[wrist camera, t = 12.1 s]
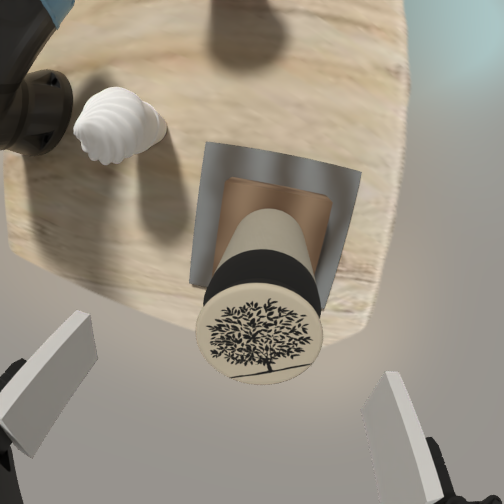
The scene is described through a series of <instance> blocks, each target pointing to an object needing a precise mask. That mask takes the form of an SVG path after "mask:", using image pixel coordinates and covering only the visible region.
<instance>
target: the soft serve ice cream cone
mask: <svg viewBox="0 0 504 504" xmlns="http://www.w3.org/2000/svg"><path fill="white" fill-rule="evenodd" d="M73 130H74V135H76V138H77V139H79V140H80V141H81V147H82V150H83V151H84V152H86V153H88V155H89V158H90V159H91V160H92V161H97V160H99V161H100V162H101V163H102V164H103V165H108V164H110V163H111V162H113V163H115V164H119V163H121V162H122V161H123V159H124V158H128V157H131V156H132V155H133V154H138V153H142V152H144V151H146V150H147V149H148V148H150V147H151V146H152V145H154V144H156V143H158V142H160V141H161V140H162V139H163V138H164V136H165V134H166V131H167V124H166V121H165V119H164V118H163V117H162V116H161V115H160V114H159V113H158V112H157V111H156V110H155V108H154V107H153V106H152V105H150V104H149V103H147V102H144V101H142V100H141V99H140V97H138V96H137V95H136V94H135V93H133V92H131V91H129V90H127V89H125V88H121V87H109V88H107V89H105V90H103V91H101V92H99V93H97V94H95V95H94V96H92V97H91V98H90V99H89V100H88V101H87V102H86V104H85V106H84V108H83V111H82V112H81V114H80V116H79V118H78V119H77V121H76V123H75V125H74V128H73Z"/></svg>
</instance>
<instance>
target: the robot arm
mask: <svg viewBox="0 0 504 504" xmlns="http://www.w3.org/2000/svg"><path fill="white" fill-rule="evenodd" d="M74 3H75V0H0V150H6V149H7V150H10V151H13V152H16V153H20V154H23V155H26V156H36V155H42V154H45V153H47V152H49V151H50V150H51V149H53V148H54V147H55V146H56V145H57V143H58V142H59V141H60V139H61V138H62V136H63V134H64V132H65V130H66V128H67V125H68V122H69V119H70V115H71V110H72V90H71V86H70V83H69V81H68V79H67V78H66V76H65V75H63V74H62V73H61V72H58V71H54V70H48V69H46V70H39V71H36V72H32V73H28V74H27V72H28V71H29V69H30V67H31V66H32V64H33V62H34V61H35V59H36V58H37V56H38V55H39V53H40V52H41V50H42V49H43V47H44V46H45V44H46V43H47V42H48V40H49V39H50V37H51V36H52V35H53V33H54V32H55V31H56V30H58V28H59V27H60V23H61V22H62V21H63V19H64V18H65V17H66V15H67V14H68V13H69V11H70V10H71V9H72V7H73V6H74ZM97 360H98V357H97V351H96V346H95V341H94V335H93V331H92V323H91V317H90V314H88V313H85V312H82V311H80V310H76V311H75V312H74V313H73V314H72V315H71V316H70V317H69V318H68V319H67V320H66V321H65V322H64V323H63V324H62V325H61V326H60V327H59V328H58V329H57V330H56V331H55V332H54V333H53V334H52V335H51V336H50V337H49V338H48V339H47V340H46V341H45V342H44V344H43V345H42V346H41V347H40V348H39V349H38V350H37V351H36V352H35V353H34V354H33V355H32V357H31V358H30V359H29V360H28V361H26V360H24V359H23V358H21V359H20V360H18V361H16V362H14V363H12V364H11V366H10V367H9V368H8V369H7V370H6V371H5V373H4V374H3V375H2V376H1V377H0V504H23V500H22V497H21V493H20V489H19V485H18V480H17V476H16V471H15V466H14V460H13V454H12V450H11V447H10V445H11V443H12V442H13V443H14V445H15V446H16V447H17V448H18V449H19V450H20V451H21V452H23V453H24V454H26V455H27V456H29V457H30V458H33V457H34V455H35V453H36V452H37V450H38V448H39V447H40V445H41V443H42V442H43V440H44V438H45V437H46V435H47V434H48V432H49V431H50V429H51V427H52V426H53V424H54V423H55V421H56V420H57V418H58V417H59V415H60V413H61V412H62V410H63V409H64V407H65V406H66V404H67V403H68V401H69V400H70V398H71V397H72V395H73V394H74V392H75V391H76V389H77V388H78V387H79V385H80V384H81V382H82V381H83V379H84V378H85V377H86V375H87V374H88V372H89V370H90V369H91V368H92V366H93V365H94V364H95V362H96V361H97ZM361 413H362V417H363V422H364V426H365V430H366V435H367V439H368V444H369V448H370V453H371V458H372V463H373V468H374V474H375V479H376V484H377V490H378V495H379V502H380V504H502V501H501V499H500V498H499V497H498V496H496V495H490V496H488V497H487V498H486V499H484V500H483V501H475V502H467V501H466V499H465V498H463V497H462V496H456V494H455V492H454V490H453V486H452V483H451V480H450V477H449V474H448V471H447V468H446V465H444V463H445V462H444V459H443V457H442V454H441V451H440V448H439V445H438V444H437V443H436V442H435V440H434V439H433V438H432V437H427V438H425V436H424V434H423V431H422V428H421V425H420V423H419V420H418V418H417V415H416V412H415V410H414V407H413V405H412V402H411V400H410V397H409V395H408V392H407V390H406V388H405V385H404V383H403V381H402V378H401V376H400V373H399V372H390V371H385V372H384V374H383V375H382V377H381V379H380V380H379V382H378V384H377V385H376V387H375V388H374V390H373V392H372V393H371V395H370V396H369V398H368V400H367V401H366V403H365V404H364V406H363V407H362V409H361Z"/></svg>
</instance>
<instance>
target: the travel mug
mask: <svg viewBox="0 0 504 504" xmlns="http://www.w3.org/2000/svg"><path fill="white" fill-rule="evenodd" d="M320 315H321V302H320V297H319V293H318V289H317V285H316V281H315V277H314V273H313V269H312V265H311V261H310V258H309V254H308V250H307V246H306V243H305V239H304V235H303V232H302V229H301V227H300V226H299V224H298V223H297V221H296V220H295V219H294V218H293V217H291V216H290V215H289V214H287V213H285V212H283V211H280V210H277V209H260V210H257V211H254V212H252V213H250V214H249V215H247V216H246V217H245V218H244V219H243V220H242V221H241V222H240V223H239V225H238V226H237V228H236V230H235V232H234V234H233V236H232V238H231V240H230V242H229V244H228V246H227V248H226V250H225V252H224V254H223V257H222V259H221V261H220V263H219V265H218V267H217V269H216V271H215V273H214V275H213V277H212V279H211V281H210V283H209V285H208V287H207V290H206V292H205V296H204V302H203V308H202V310H201V312H200V314H199V316H198V319H197V322H196V332H195V333H196V340H197V344H198V347H199V349H200V351H201V353H202V355H203V357H204V358H205V359H206V360H207V362H208V363H209V364H210V365H211V366H212V367H213V368H214V369H216V370H217V371H218V372H220V373H221V374H223V375H225V376H227V377H229V378H231V379H233V380H236V381H239V382H243V383H247V384H254V385H270V384H276V383H281V382H284V381H287V380H290V379H292V378H294V377H296V376H298V375H300V374H301V373H302V372H304V371H305V370H306V369H308V368H309V367H310V366H311V365H312V363H313V362H314V361H315V359H316V358H317V356H318V354H319V352H320V350H321V347H322V342H323V329H322V324H321V321H320Z"/></svg>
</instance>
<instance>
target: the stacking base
mask: <svg viewBox="0 0 504 504" xmlns="http://www.w3.org/2000/svg"><path fill="white" fill-rule="evenodd" d="M361 173H362V172H360V171H356V170H352V169H349V168H345V167H341V166H337V165H333V164H328V163H324V162H320V161H315V160H311V159H306V158H302V157H297V156H292V155H287V154H282V153H277V152H271V151H266V150H260V149H254V148H248V147H242V146H235V145H228V144H221V143H214V142H206V145H205V151H204V158H203V165H202V172H201V179H200V186H199V194H198V202H197V210H196V218H195V227H194V237H193V246H192V257H191V267H190V279H189V283H190V284H195V285H199V286H204V287H208V285H209V283H210V281H211V279H212V277H213V275H214V273H215V271H216V269H217V267H218V265H219V263H220V261H221V259H222V257H223V254H224V252H225V250H226V248H227V246H228V244H229V242H230V240H231V238H232V236H233V234H234V232H235V230H236V228H237V226H238V225H239V223H240V222H241V221H242V220H243V219H244V218H245V217H246V216H247V215H249V214H250V213H252V212H254V211H257V210H260V209H277V210H280V211H283V212H285V213H287V214H289V215H290V216H291V217H293V218H294V219H295V220H296V221H297V223H298V224H299V226H300V227H301V229H302V232H303V235H304V239H305V243H306V246H307V250H308V254H309V258H310V261H311V265H312V269H313V273H314V277H315V281H316V285H317V289H318V293H319V297H320V302H321V308H323V309H324V308H325V305H326V302H327V299H328V295H329V292H330V289H331V286H332V283H333V280H334V276H335V273H336V270H337V266H338V263H339V260H340V256H341V253H342V249H343V245H344V242H345V238H346V235H347V231H348V227H349V223H350V219H351V215H352V211H353V207H354V203H355V199H356V195H357V191H358V186H359V182H360V178H361Z"/></svg>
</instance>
